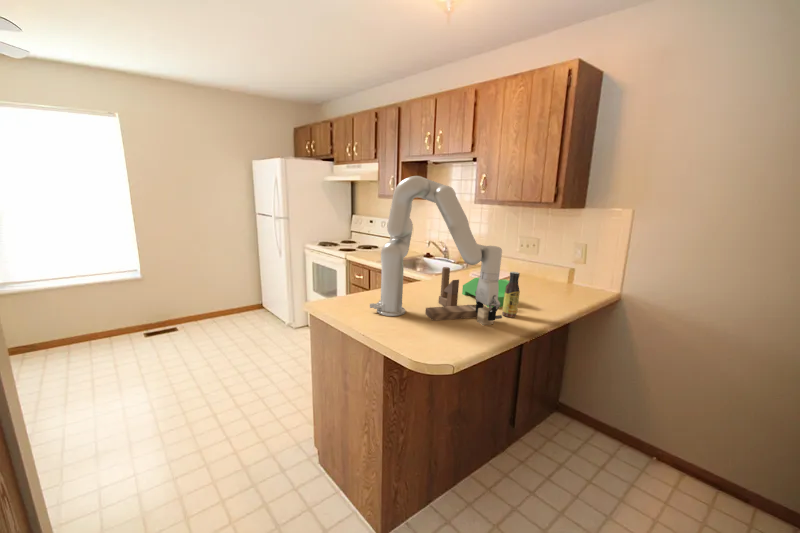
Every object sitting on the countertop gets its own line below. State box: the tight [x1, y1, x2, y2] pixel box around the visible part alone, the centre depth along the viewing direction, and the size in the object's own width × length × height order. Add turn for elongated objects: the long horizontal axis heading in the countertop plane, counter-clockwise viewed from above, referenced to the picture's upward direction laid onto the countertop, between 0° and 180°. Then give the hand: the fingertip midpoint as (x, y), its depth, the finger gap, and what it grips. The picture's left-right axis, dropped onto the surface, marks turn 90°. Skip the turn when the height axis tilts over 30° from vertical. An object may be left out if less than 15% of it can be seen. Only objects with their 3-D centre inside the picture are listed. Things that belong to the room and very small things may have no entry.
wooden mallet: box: [438, 266, 460, 307], centre depth 167 cm, size 4×11×18 cm, turn 26°
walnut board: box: [424, 304, 487, 321], centre depth 156 cm, size 28×8×3 cm, turn 108°
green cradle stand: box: [461, 276, 510, 308], centre depth 181 cm, size 24×13×12 cm, turn 23°
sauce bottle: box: [501, 271, 521, 318], centre depth 157 cm, size 7×6×20 cm
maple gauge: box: [476, 306, 503, 326], centre depth 149 cm, size 10×4×6 cm, turn 108°
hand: (485, 316), depth 148 cm, fingers open, 9 cm apart
